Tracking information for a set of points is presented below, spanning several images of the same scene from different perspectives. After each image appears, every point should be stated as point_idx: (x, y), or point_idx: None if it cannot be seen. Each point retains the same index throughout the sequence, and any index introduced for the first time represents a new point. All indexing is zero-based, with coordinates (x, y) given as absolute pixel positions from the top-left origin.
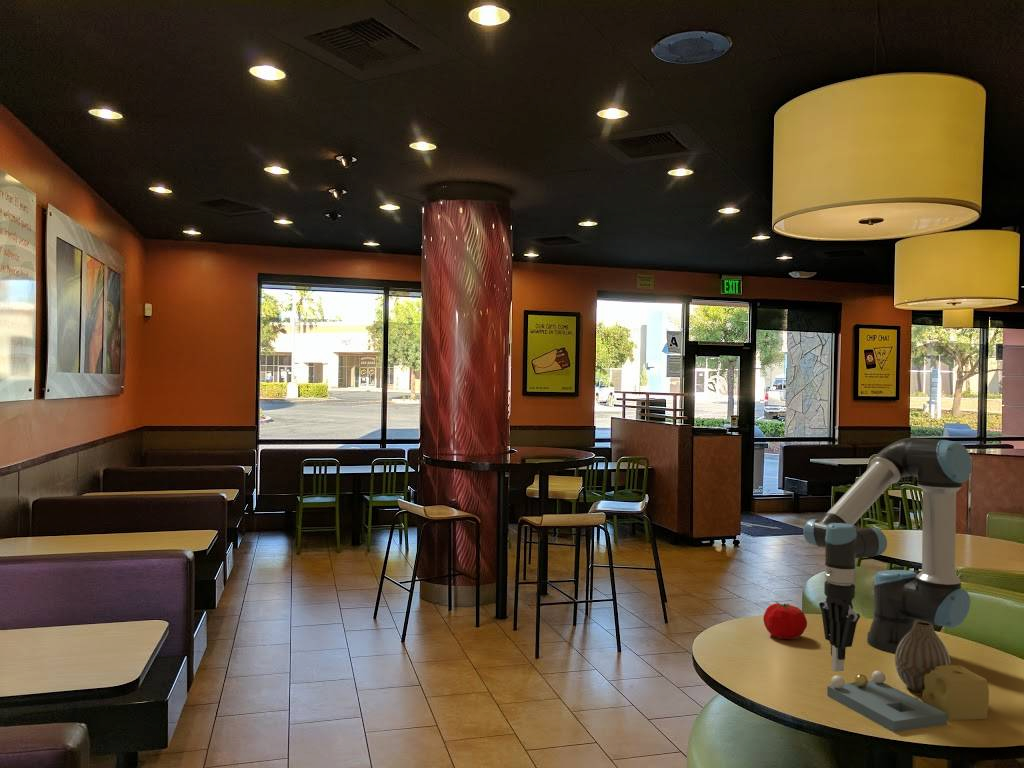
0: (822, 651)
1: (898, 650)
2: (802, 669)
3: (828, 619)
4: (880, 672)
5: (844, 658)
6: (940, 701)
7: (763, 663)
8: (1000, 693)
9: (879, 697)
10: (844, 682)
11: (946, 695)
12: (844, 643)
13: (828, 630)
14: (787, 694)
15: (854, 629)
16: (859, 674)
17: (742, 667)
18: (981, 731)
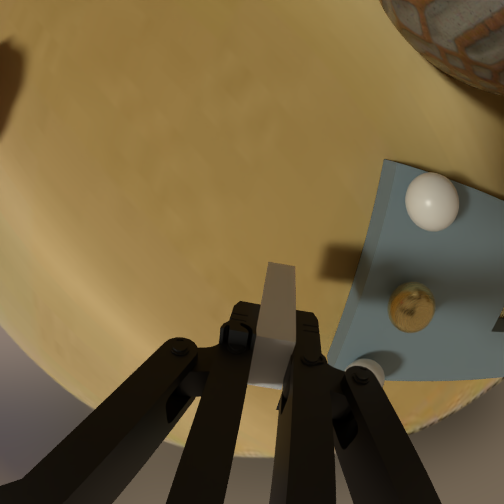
0: (39, 63)
1: (487, 30)
2: (124, 250)
3: (118, 479)
4: (453, 212)
5: (315, 321)
6: None
7: (73, 310)
8: None
9: (470, 309)
10: (383, 373)
11: None
12: (352, 428)
13: (169, 427)
14: (267, 414)
15: (427, 489)
16: (412, 324)
17: (95, 367)
18: None
